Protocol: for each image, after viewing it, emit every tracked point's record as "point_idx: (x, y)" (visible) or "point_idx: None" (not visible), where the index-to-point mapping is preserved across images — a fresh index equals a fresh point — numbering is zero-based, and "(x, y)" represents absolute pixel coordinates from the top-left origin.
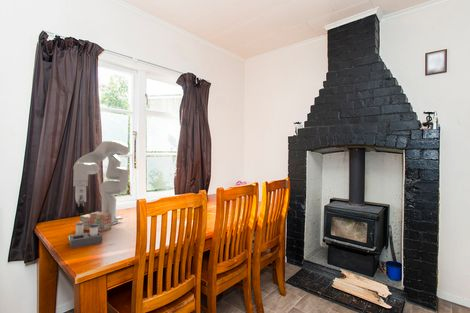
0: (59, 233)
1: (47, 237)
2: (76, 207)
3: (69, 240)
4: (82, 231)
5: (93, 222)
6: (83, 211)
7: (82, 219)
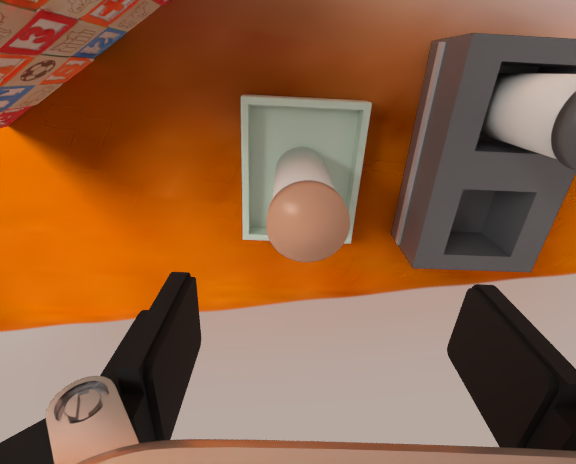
0: (87, 259)
1: None
2: (188, 380)
3: (349, 240)
4: (326, 172)
5: (77, 21)
6: (504, 303)
7: None
